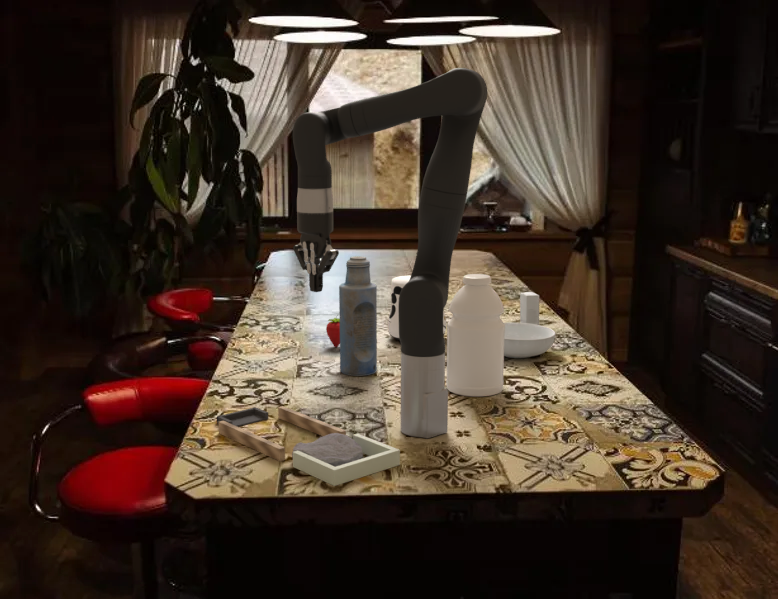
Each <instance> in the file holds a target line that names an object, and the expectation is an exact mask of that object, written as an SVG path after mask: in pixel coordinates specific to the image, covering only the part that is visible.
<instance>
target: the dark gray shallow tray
mask: <svg viewBox="0 0 778 599" xmlns="http://www.w3.org/2000/svg"><path fill="white" fill-rule="evenodd" d="M265 420H269V412H268V411H266V410H263V409H261V408H259V407H251V408H246V409H241V410H238V411H234V412H230V413H225V414H221V415H217V416H216V424H218V425H219V422H220V421H226V422H228V423H230V424H232V425H235V426H237V427H242V426H246V425H251V424H254V423H258V422H261V421H265Z"/></svg>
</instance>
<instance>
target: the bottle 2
mask: <svg viewBox="0 0 778 599" xmlns="http://www.w3.org/2000/svg"><path fill="white" fill-rule="evenodd" d="M462 283H463V284H464V285H463V286H461V287H460V288H459V290H457V291H456V293H455V294H454V296H453V297H452V299H451V301H450V304H449V307H448V311H449V312H450V313H451V314H452V317H451V318H450V320H448V322H446V336H447V337H446V379H445V384H446V389H448V392H451V393H453V394H456V395H459V396H463V397H488V396H489V397H491V396H494V395H497V394H500V393H502V391H503V388H504V382H505V381H504V367H505V366H504V365H505V364H504V363H505V356H504V337H505V323H506V322H504V321H503V320H502V318H501V316H502V315H503V313H504V312H505V307H504V303H503V301H502V300H501V298H500V296H499V294H498V293H497V292H496V291H495V289H494V288H493V287H492V286H491V284H492V277H491V276H490V274H489V275H488V274H485V273H484V274H483V273H471V274H470V273H468V274H465V275H464V276H463V277H462Z"/></svg>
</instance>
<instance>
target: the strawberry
mask: <svg viewBox="0 0 778 599" xmlns="http://www.w3.org/2000/svg"><path fill="white" fill-rule="evenodd" d="M338 316H339V314H337V315H336V317H334V318H330V319H328V320H327V321H328V323H327V325H326V328H325V330H326V335H327V337H328V339H329V341H330V342H331V344H332V345H333V347H334V348H338V347H340V318H337V317H338Z"/></svg>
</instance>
